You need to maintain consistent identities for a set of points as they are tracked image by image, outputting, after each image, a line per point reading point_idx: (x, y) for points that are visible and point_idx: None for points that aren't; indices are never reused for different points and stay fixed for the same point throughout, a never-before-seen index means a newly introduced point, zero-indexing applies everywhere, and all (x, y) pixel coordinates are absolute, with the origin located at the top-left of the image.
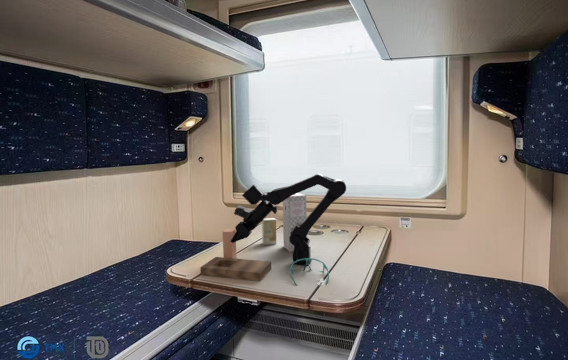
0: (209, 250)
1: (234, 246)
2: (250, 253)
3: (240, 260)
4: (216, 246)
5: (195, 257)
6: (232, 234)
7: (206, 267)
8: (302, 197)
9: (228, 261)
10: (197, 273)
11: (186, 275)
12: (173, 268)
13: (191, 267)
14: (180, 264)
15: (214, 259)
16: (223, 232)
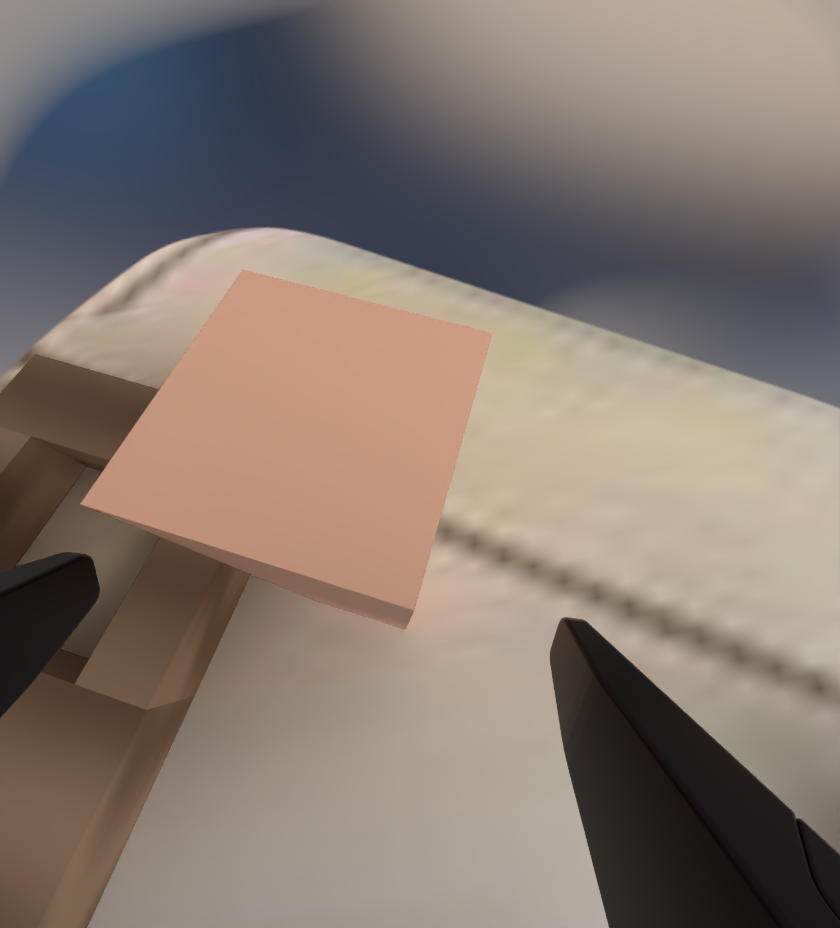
0: (635, 356)
1: (350, 607)
2: None
3: (74, 739)
4: (747, 388)
5: (469, 299)
6: (207, 552)
7: (3, 399)
8: None
9: (146, 575)
10: (128, 367)
11: (116, 314)
12: (271, 232)
13: None
14: (337, 249)
15: None
16: (242, 310)
